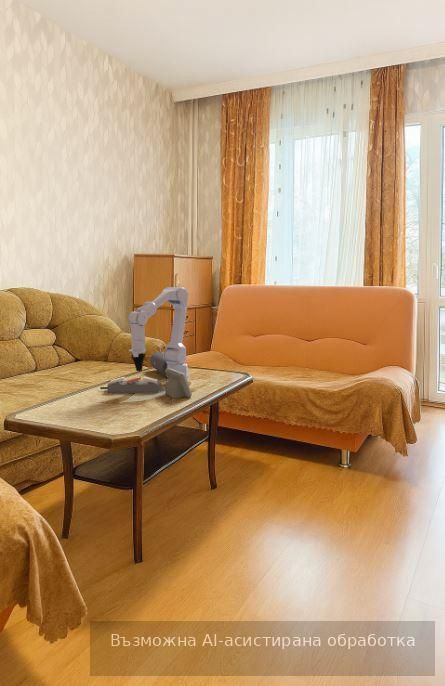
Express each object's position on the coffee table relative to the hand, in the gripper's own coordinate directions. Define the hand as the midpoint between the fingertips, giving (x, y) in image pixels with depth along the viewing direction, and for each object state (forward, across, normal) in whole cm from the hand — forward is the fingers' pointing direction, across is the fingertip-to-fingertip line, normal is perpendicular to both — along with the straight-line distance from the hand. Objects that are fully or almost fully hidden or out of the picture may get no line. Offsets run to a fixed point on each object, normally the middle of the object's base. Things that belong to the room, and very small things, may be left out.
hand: (139, 370), depth 224 cm
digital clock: (+9, +6, +17) cm, 21 cm away
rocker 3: (+4, 0, +5) cm, 6 cm away
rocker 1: (+4, 0, -9) cm, 10 cm away
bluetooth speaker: (+9, -38, +6) cm, 39 cm away
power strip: (+9, -2, -4) cm, 10 cm away
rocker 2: (+4, 0, -2) cm, 5 cm away
